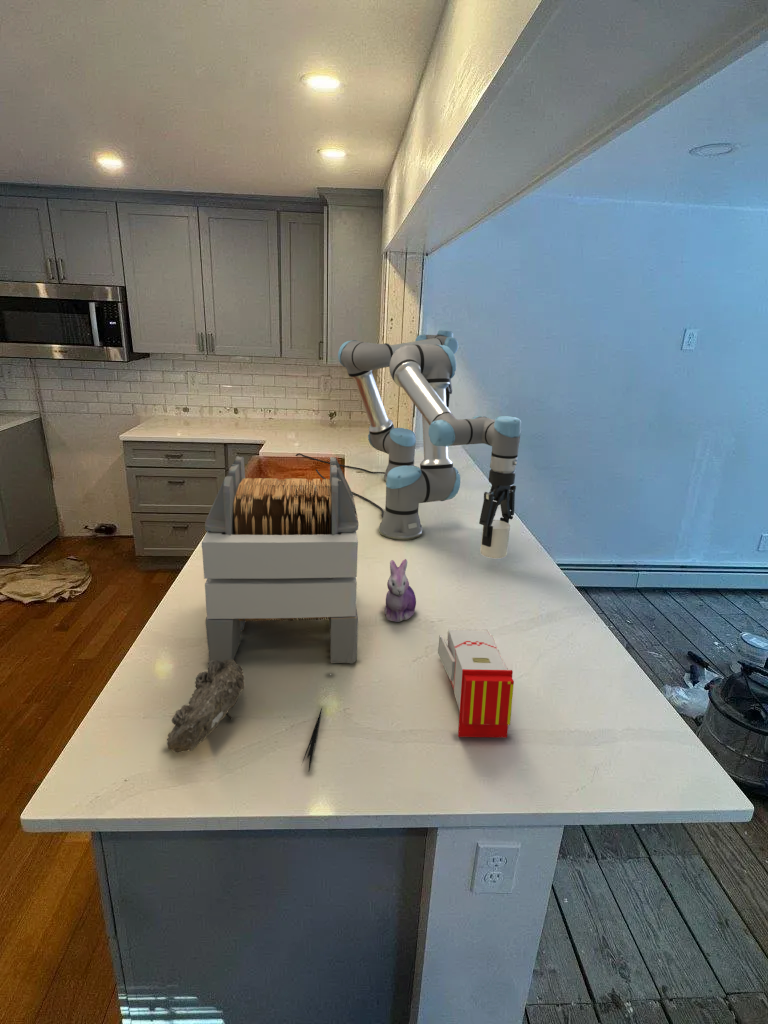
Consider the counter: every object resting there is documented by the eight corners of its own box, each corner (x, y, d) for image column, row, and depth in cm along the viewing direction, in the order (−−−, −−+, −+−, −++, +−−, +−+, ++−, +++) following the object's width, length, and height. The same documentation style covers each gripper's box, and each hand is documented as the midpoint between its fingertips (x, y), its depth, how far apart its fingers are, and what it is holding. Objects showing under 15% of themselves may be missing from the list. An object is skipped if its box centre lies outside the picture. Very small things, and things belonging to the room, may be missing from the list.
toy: (488, 613, 130) (523, 677, 101) (484, 667, 133) (517, 744, 104) (435, 612, 130) (455, 676, 101) (432, 666, 133) (451, 743, 103)
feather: (331, 679, 122) (336, 673, 122) (307, 777, 96) (313, 769, 95) (324, 675, 122) (329, 669, 121) (298, 772, 95) (304, 764, 95)
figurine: (392, 627, 141) (395, 572, 136) (374, 608, 149) (376, 556, 144) (425, 619, 145) (429, 566, 140) (405, 601, 154) (408, 550, 149)
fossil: (192, 660, 117) (244, 628, 112) (224, 691, 120) (276, 661, 115) (142, 746, 98) (202, 712, 93) (182, 779, 101) (242, 748, 96)
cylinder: (475, 553, 174) (478, 524, 171) (488, 545, 180) (491, 517, 177) (498, 561, 170) (502, 531, 166) (511, 553, 176) (514, 524, 172)
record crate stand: (229, 593, 154) (221, 446, 140) (349, 591, 157) (353, 448, 144) (206, 668, 122) (192, 488, 108) (357, 664, 126) (363, 489, 112)
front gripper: (493, 479, 156) (485, 554, 164) (532, 467, 171) (523, 536, 178) (471, 473, 161) (464, 546, 169) (510, 462, 176) (502, 530, 183)
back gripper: (438, 366, 260) (434, 412, 267) (461, 363, 280) (457, 406, 287) (423, 365, 264) (420, 410, 271) (447, 362, 284) (444, 404, 291)
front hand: (494, 541), depth 174 cm, fingers closed on cylinder, 8 cm apart
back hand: (439, 408), depth 279 cm, fingers open, 13 cm apart
